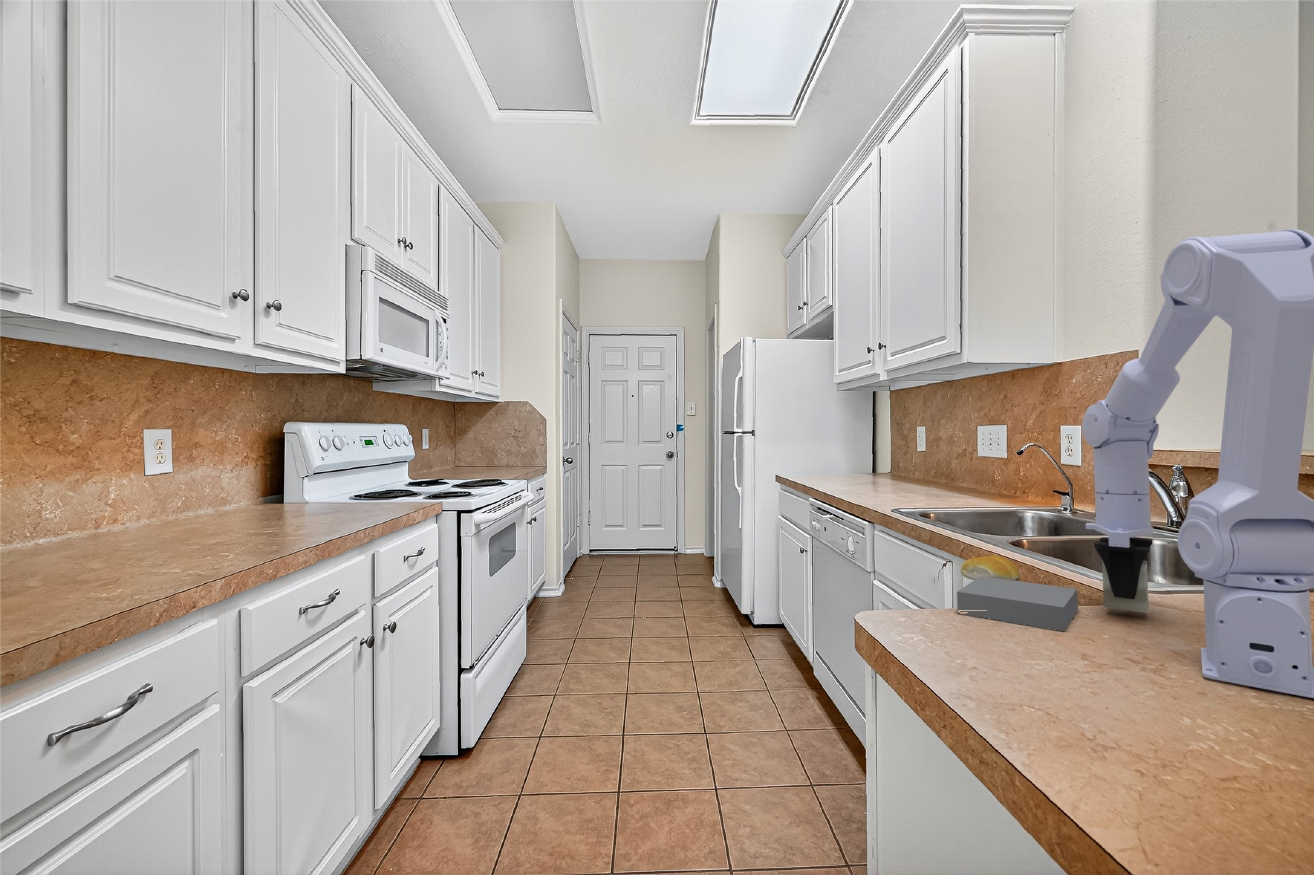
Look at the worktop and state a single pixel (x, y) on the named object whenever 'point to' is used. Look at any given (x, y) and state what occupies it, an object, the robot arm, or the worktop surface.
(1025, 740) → the worktop surface
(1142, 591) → the sage block
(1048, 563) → the worktop surface
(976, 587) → the slate plinth
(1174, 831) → the worktop surface
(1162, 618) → the worktop surface
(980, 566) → the bread roll
